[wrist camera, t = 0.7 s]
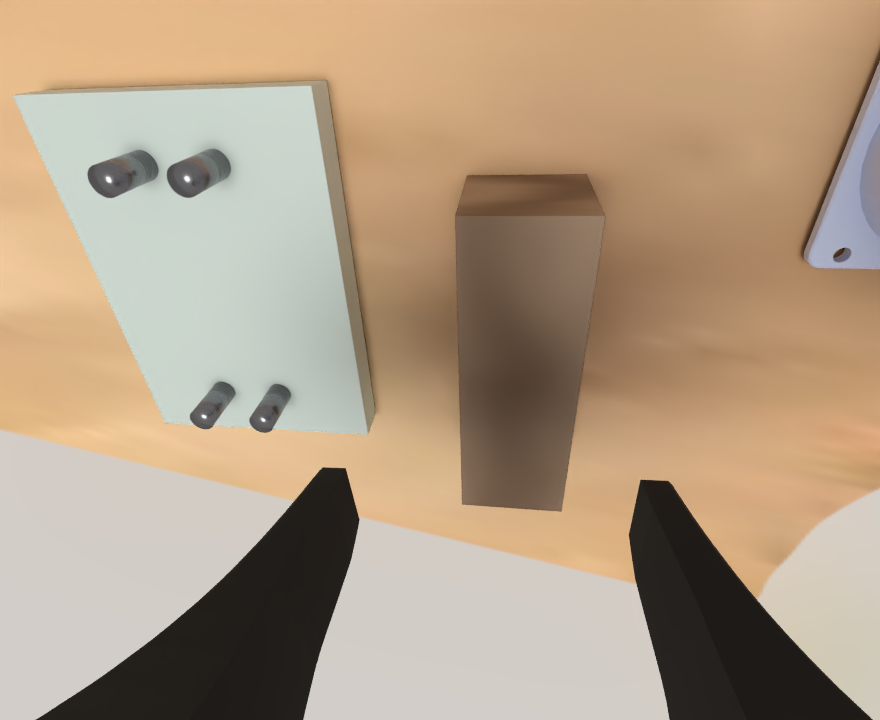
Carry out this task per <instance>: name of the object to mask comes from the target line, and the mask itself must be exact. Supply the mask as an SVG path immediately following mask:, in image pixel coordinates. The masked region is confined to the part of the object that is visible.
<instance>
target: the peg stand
mask: <svg viewBox="0 0 880 720" xmlns="http://www.w3.org/2000/svg"><path fill="white" fill-rule="evenodd" d="M13 97H14V99H15V102H16V104H17V106H18V108H19V110H20V112H21V115H22V117H23V119H24V121H25V123H26V125H27V127H28V130H29V132H30V134H31V136H32V138H33V140H34V142H35V145H36V147H37V149H38V151H39V153H40V155H41V157H42V160H43V162H44V164H45V166H46V168H47V170H48V172H49V175H50V177H51V179H52V181H53V183H54V185H55V187H56V190H57V192H58V194H59V196H60V198H61V200H62V202H63V205H64V207H65V209H66V211H67V213H68V215H69V217H70V220H71V222H72V224H73V226H74V228H75V230H76V232H77V235H78V237H79V239H80V241H81V243H82V245H83V247H84V250H85V252H86V254H87V256H88V258H89V260H90V262H91V265H92V267H93V269H94V271H95V273H96V275H97V277H98V280H99V282H100V284H101V286H102V288H103V290H104V293H105V295H106V297H107V299H108V301H109V303H110V305H111V308H112V310H113V312H114V314H115V316H116V318H117V320H118V323H119V325H120V327H121V329H122V331H123V333H124V335H125V338H126V340H127V342H128V344H129V346H130V348H131V350H132V353H133V355H134V357H135V359H136V361H137V363H138V365H139V368H140V370H141V372H142V374H143V376H144V378H145V380H146V383H147V385H148V387H149V389H150V391H151V393H152V395H153V398H154V400H155V402H156V404H157V406H158V408H159V410H160V413H161V415H162V417H163V419H164V421H165V423H172V424H189V425H196V426H197V427H199V428H202V429H210V428H212V427H213V426H225V427H242V428H254V429H255V430H257V431H259V432H264V433H266V432H270V431H271V430H272V429H277V430H295V431H312V432H330V433H347V434H365V435H368V433H369V431H370V428H371V425H372V422H373V419H374V416H375V406H374V399H373V393H372V386H371V379H370V372H369V365H368V358H367V352H366V345H365V338H364V331H363V324H362V318H361V311H360V304H359V297H358V290H357V283H356V277H355V270H354V263H353V256H352V249H351V243H350V236H349V229H348V222H347V215H346V208H345V202H344V195H343V188H342V181H341V174H340V168H339V161H338V154H337V147H336V140H335V133H334V127H333V120H332V113H331V106H330V99H329V93H328V86H327V80H325V81H295V82H264V83H234V84H204V85H174V86H144V87H113V88H83V89H53V90H43V91H36V92H30V93H24V94H17V95H13Z"/></svg>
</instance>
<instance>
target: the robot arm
mask: <svg viewBox="0 0 880 720" xmlns="http://www.w3.org/2000/svg"><path fill="white" fill-rule="evenodd" d="M840 248H845V250H844V252H843V253H842V254H841V255H840V256H838V257H835V258H833V255H834V253H835V252H836V251H837V250H839V249H840ZM804 259H805V261H806V262H808V263H809V264H810V265H811V266H813V267H815V268H834V269H880V61H879V64H878V66H877V69H876V72H875V74H874V77H873V79H872V82H871V84H870V87H869V89H868V92H867V94H866V97H865V99H864V102H863V104H862V107H861V109H860V112H859V114H858V117H857V119H856V122H855V125H854V127H853V130H852V132H851V135H850V137H849V140H848V142H847V145H846V147H845V150H844V152H843V155H842V157H841V160H840V162H839V165H838V167H837V170H836V173H835V175H834V178H833V180H832V183H831V185H830V188H829V190H828V193H827V195H826V198H825V200H824V203H823V205H822V208H821V210H820V213H819V215H818V218H817V221H816V223H815V226H814V228H813V231H812V233H811V236H810V238H809V241H808V243H807V246H806V248H805V251H804ZM358 525H359V517H358V513H357V509H356V505H355V502H354V498H353V494H352V490H351V487H350V483H349V479H348V475H347V472H346V468H322V469H321V470H320V471H319V472H318V473H317V474H316V476H315V477H314V478H313V479H312V480H311V482H310V483H309V484H308V485H307V487H306V488H305V489H304V490H303V491H302V493H301V494H300V495H299V496H298V497H297V499H296V500H295V501H294V502H293V503H292V505H291V506H290V507H289V508H288V509H287V510H286V512H285V513H284V514H283V515H282V516H281V517H280V518H279V520H278V521H277V522H276V523H275V524H274V525H273V526H272V528H271V529H270V530H269V531H268V532H267V533H266V534H265V535H264V537H263V538H262V539H261V540H260V541H259V542H258V543H257V544H256V545H255V546H254V547H253V548H252V549H251V550H250V551H249V553H247V555H246V556H245V557H244V558H243V559H242V560H241V561H240V562H239V563H238V564H237V565H236V566H235V567H234V568H233V569H232V570H231V571H230V572H229V573H228V574H227V575H226V576H225V577H224V578H223V579H222V580H221V581H220V582H219V583H217V585H215V586H214V587H213V588H212V589H211V590H210V591H209V592H208V593H207V594H206V595H205V596H203V597H202V598H201V599H200V600H199V601H198V602H197V603H196V604H194V605H193V606H192V607H191V608H190V609H189V610H187V611H186V612H185V613H184V614H183V615H181V616H180V617H179V618H178V619H177V620H176V621H174V622H173V623H172V624H171V625H170V626H168V627H167V628H166V629H165V630H164V631H162V632H161V633H160V634H159V635H157V636H156V637H155V638H153V639H152V640H151V641H150V642H148V643H147V644H146V645H144V646H143V647H142V648H140V649H139V650H138V651H136V652H135V653H134V654H132V655H131V656H130V657H128V658H127V659H125V660H124V661H123V662H121V663H120V664H119V665H117V666H116V667H115V668H113V669H112V670H110V671H109V672H108V673H106V674H105V675H103V676H102V677H101V678H99V679H98V680H96V681H95V682H93V683H92V684H90V685H89V686H87V687H86V688H84V689H83V690H81V691H80V692H78V693H77V694H75V695H74V696H72V697H71V698H69V699H67V700H66V701H64V702H63V703H61V704H60V705H58V706H57V707H55V708H54V709H52V710H51V711H49V712H48V713H46V714H45V715H43V716H41V717H40V718H38V719H36V720H303V718H304V713H305V709H306V705H307V701H308V696H309V692H310V688H311V684H312V680H313V676H314V672H315V668H316V664H317V661H318V657H319V653H320V650H321V647H322V644H323V641H324V638H325V635H326V632H327V629H328V626H329V623H330V621H331V618H332V614H333V612H334V609H335V606H336V603H337V600H338V597H339V594H340V591H341V588H342V585H343V582H344V579H345V576H346V573H347V570H348V567H349V564H350V561H351V558H352V553H353V549H354V544H355V539H356V534H357V530H358ZM629 539H630V546H631V554H632V561H633V567H634V574H635V579H636V583H637V587H638V591H639V595H640V599H641V603H642V606H643V610H644V614H645V618H646V622H647V625H648V630H649V633H650V637H651V641H652V645H653V648H654V652H655V656H656V660H657V664H658V667H659V671H660V674H661V679H662V683H663V688H664V692H665V697H666V701H667V707H668V713H669V719H670V720H872V719H871V718H870V717H869V716H868V715H867V714H866V713H865V712H864V711H863V710H862V709H861V708H860V707H858V706H857V705H856V704H855V703H854V702H853V701H852V700H851V699H850V698H849V697H848V696H847V695H846V694H845V693H844V692H842V691H841V690H840V689H839V688H838V687H837V686H836V685H835V684H834V683H833V682H832V681H831V680H830V679H829V678H828V677H827V676H826V675H825V674H824V673H823V672H822V671H821V669H819V667H817V666H816V664H815V663H814V662H813V661H812V660H811V659H810V658H809V657H808V656H807V655H806V654H805V653H804V652H803V651H802V650H801V649H800V648H799V647H798V646H797V645H796V643H795V642H794V641H793V640H792V639H791V638H790V637H789V636H788V635H787V634H786V633H785V632H784V631H783V629H782V628H781V627H780V626H779V625H778V624H777V623H776V622H775V621H774V619H773V618H772V617H771V616H770V615H769V614H768V613H767V612H766V610H765V609H764V608H763V607H762V606H761V604H760V603H759V602H758V601H757V599H756V598H755V597H754V596H753V595H752V593H751V592H750V591H749V590H748V589H747V587H746V586H745V585H744V584H743V583H742V581H741V580H740V579H739V578H738V576H737V575H736V574H735V573H734V571H733V570H732V569H731V567H730V566H729V565H728V563H727V562H726V561H725V559H724V558H723V557H722V556H721V554H720V553H719V552H718V550H717V549H716V548H715V546H714V545H713V544H712V542H711V541H710V540H709V538H708V537H707V535H706V534H705V533H704V531H703V530H702V528H701V527H700V526H699V524H698V523H697V521H696V520H695V518H694V517H693V516H692V514H691V513H690V511H689V510H688V508H687V507H686V505H685V504H684V502H683V501H682V499H681V498H680V496H679V495H678V493H677V492H676V490H675V488H674V487H673V485H672V484H671V483H670V482H669V481H655V480H640V485H639V490H638V495H637V499H636V504H635V509H634V513H633V518H632V523H631V528H630V532H629Z"/></svg>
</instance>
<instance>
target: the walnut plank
mask: <svg viewBox="0 0 880 720" xmlns="http://www.w3.org/2000/svg"><path fill="white" fill-rule="evenodd" d="M604 223H605V214H604V212H603V210H602V207H601V205H600V203H599V201H598V199H597V196H596V194H595V192H594V190H593V188H592V186H591V183H590V181H589V179H588V177H587V175H586V174H564V175H469V176H467V178H466V181H465V185H464V188H463V192H462V195H461V198H460V202H459V205H458V208H457V212H456V215H455V228H456V270H457V312H458V354H459V396H460V438H461V480H462V504H463V505H477V506H491V507H505V508H519V509H533V510H547V511H562V504H563V498H564V491H565V484H566V478H567V471H568V464H569V458H570V451H571V444H572V437H573V431H574V424H575V417H576V411H577V404H578V397H579V391H580V384H581V377H582V370H583V364H584V357H585V350H586V344H587V337H588V330H589V324H590V317H591V310H592V303H593V297H594V290H595V283H596V277H597V270H598V263H599V256H600V250H601V243H602V236H603V230H604Z"/></svg>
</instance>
